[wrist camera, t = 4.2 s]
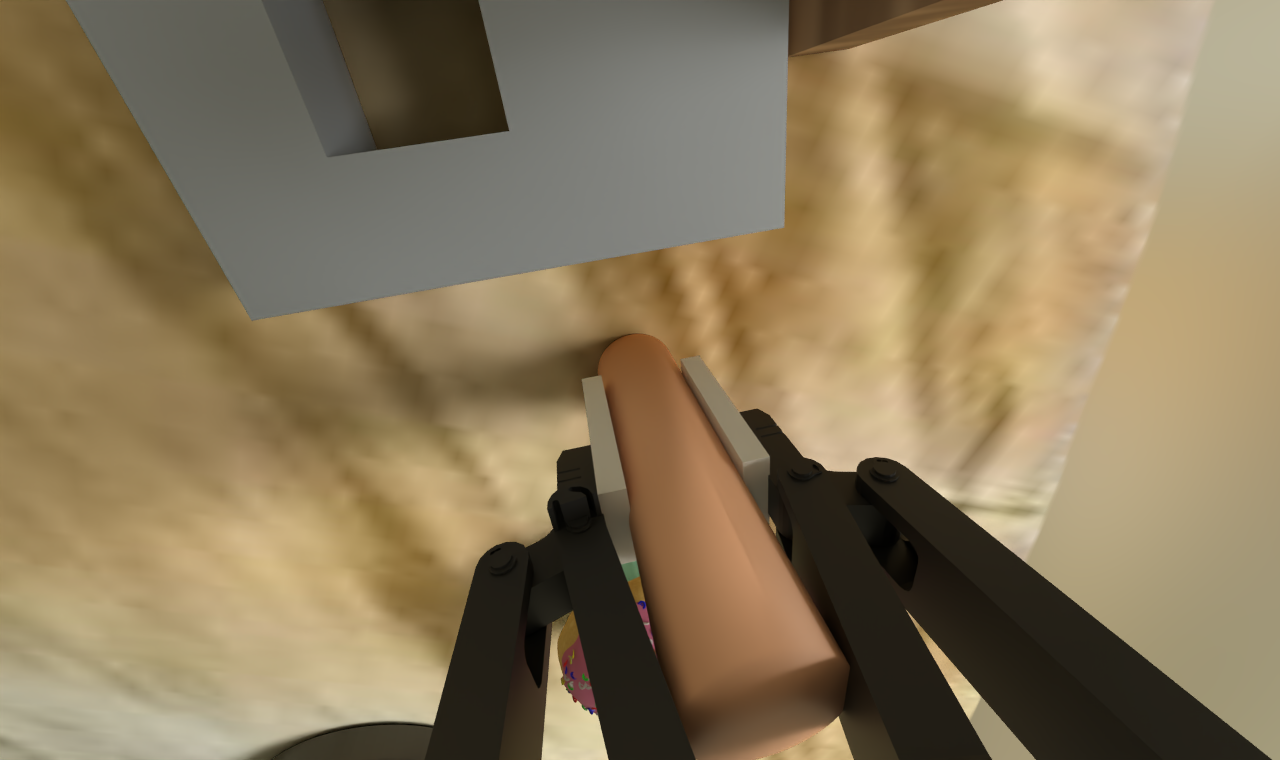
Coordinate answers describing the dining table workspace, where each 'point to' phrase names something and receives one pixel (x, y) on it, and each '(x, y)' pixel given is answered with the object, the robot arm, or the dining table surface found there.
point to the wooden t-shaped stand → (862, 21)
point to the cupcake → (573, 653)
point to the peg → (714, 573)
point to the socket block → (454, 141)
